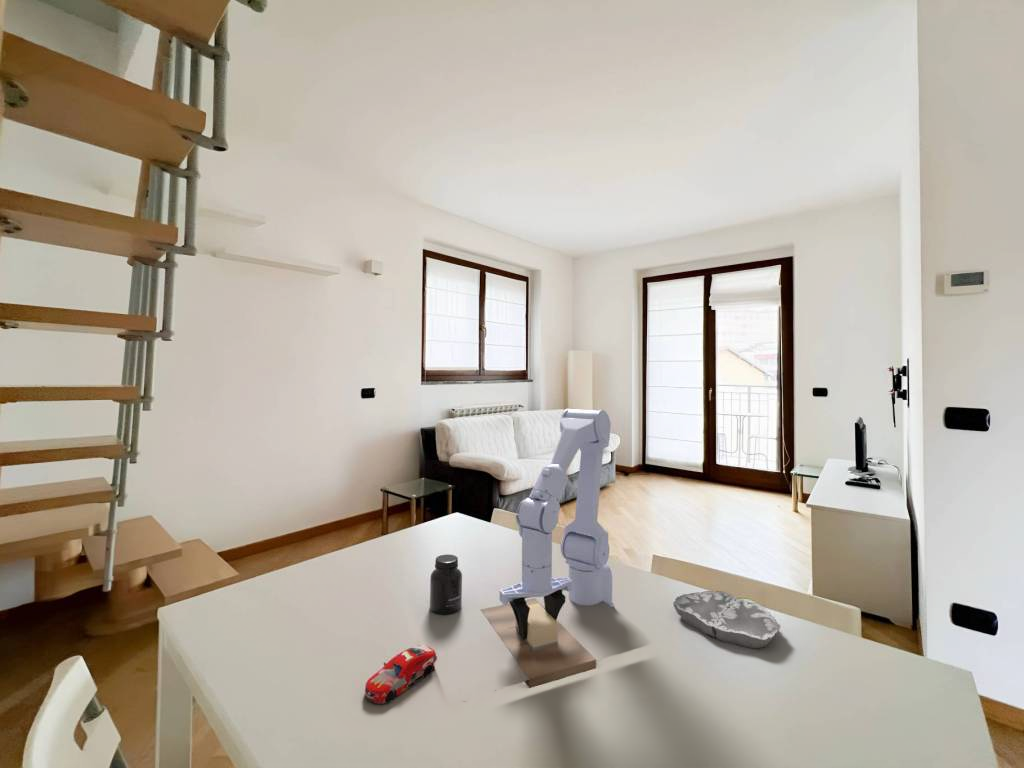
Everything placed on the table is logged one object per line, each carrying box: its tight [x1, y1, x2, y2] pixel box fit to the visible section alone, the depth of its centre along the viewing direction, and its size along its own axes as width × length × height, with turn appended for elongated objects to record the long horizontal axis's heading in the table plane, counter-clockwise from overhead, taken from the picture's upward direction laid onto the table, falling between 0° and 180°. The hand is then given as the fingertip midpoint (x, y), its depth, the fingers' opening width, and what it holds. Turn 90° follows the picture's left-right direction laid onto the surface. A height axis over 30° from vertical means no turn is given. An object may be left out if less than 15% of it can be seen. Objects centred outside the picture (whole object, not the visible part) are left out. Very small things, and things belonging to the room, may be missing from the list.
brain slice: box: [673, 590, 781, 649], centre depth 92 cm, size 20×17×3 cm
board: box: [480, 597, 597, 689], centre depth 86 cm, size 24×13×2 cm, turn 24°
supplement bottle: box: [429, 554, 463, 616], centre depth 95 cm, size 7×7×12 cm
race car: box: [364, 644, 438, 705], centre depth 74 cm, size 13×5×4 cm, turn 142°
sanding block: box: [516, 602, 558, 651], centre depth 84 cm, size 5×8×4 cm, turn 23°
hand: (536, 633), depth 84 cm, fingers closed on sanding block, 5 cm apart
